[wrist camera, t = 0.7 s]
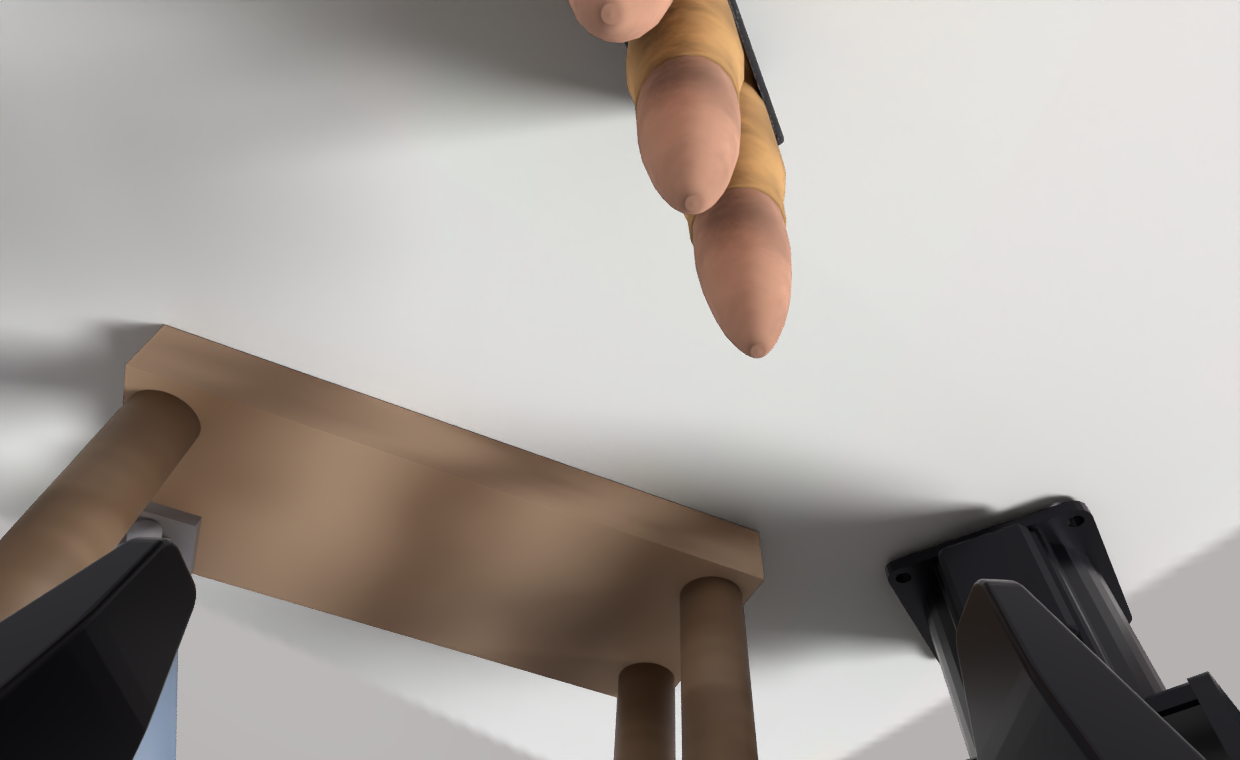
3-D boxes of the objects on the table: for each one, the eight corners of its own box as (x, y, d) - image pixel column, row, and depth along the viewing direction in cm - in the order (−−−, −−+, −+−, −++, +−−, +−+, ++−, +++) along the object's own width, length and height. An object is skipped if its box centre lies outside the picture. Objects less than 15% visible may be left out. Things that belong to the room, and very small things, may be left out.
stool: (758, 532, 26) (796, 834, 19) (657, 661, 31) (654, 949, 23) (153, 321, 23) (-116, 589, 15) (137, 503, 27) (-77, 783, 19)
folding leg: (183, 519, 24) (179, 763, 19) (177, 566, 26) (171, 806, 21) (105, 520, 23) (80, 779, 18) (103, 570, 25) (78, 823, 20)
